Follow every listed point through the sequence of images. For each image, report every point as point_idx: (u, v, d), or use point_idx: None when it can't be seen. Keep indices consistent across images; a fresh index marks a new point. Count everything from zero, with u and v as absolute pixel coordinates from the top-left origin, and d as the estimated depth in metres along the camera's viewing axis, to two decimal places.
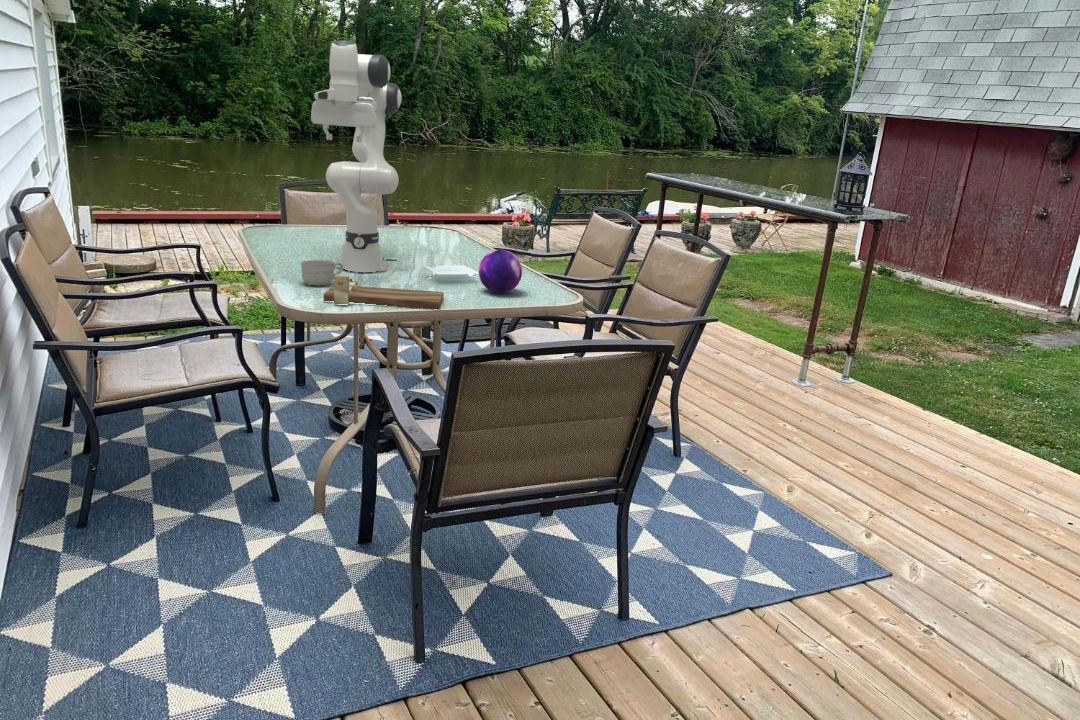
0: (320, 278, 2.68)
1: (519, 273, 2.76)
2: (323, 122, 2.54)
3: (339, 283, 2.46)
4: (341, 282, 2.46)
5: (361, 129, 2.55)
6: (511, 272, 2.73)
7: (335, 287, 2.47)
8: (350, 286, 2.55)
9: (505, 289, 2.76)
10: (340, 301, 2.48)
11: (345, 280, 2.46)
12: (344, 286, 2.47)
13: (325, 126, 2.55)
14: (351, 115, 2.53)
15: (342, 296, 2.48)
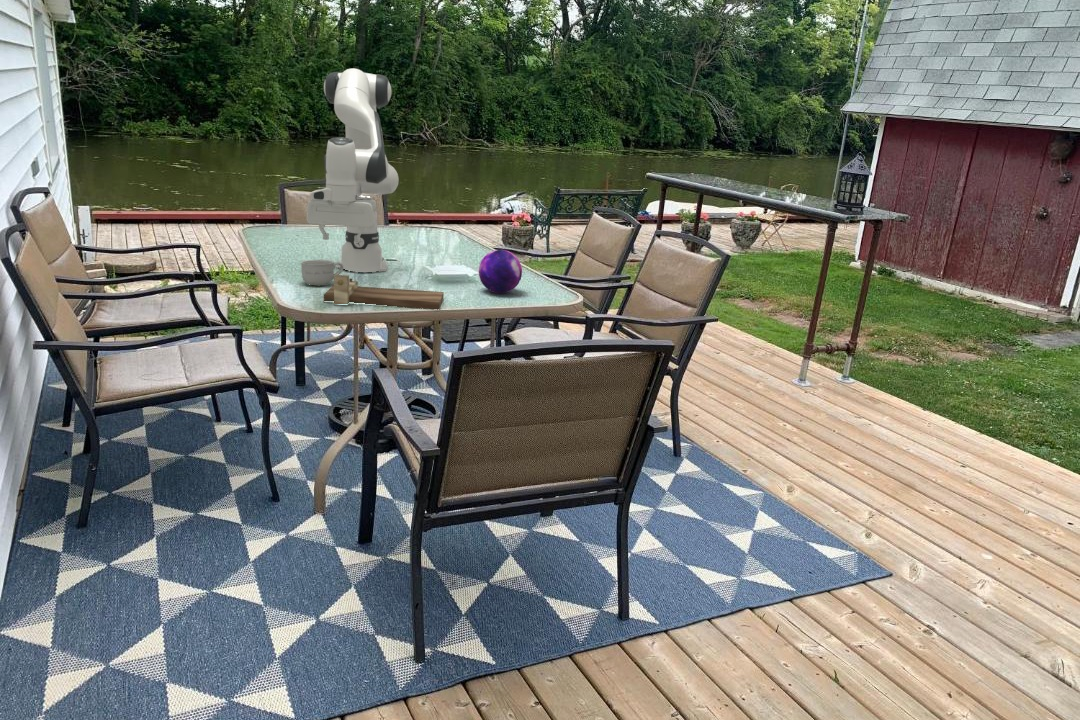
0: (320, 278, 2.68)
1: (519, 273, 2.76)
2: (319, 222, 2.40)
3: (339, 283, 2.46)
4: (341, 282, 2.46)
5: (359, 229, 2.42)
6: (511, 272, 2.73)
7: (335, 287, 2.47)
8: (350, 286, 2.55)
9: (505, 289, 2.76)
10: (340, 301, 2.48)
11: (345, 280, 2.46)
12: (344, 286, 2.47)
13: (321, 226, 2.42)
14: (349, 215, 2.40)
15: (342, 296, 2.48)
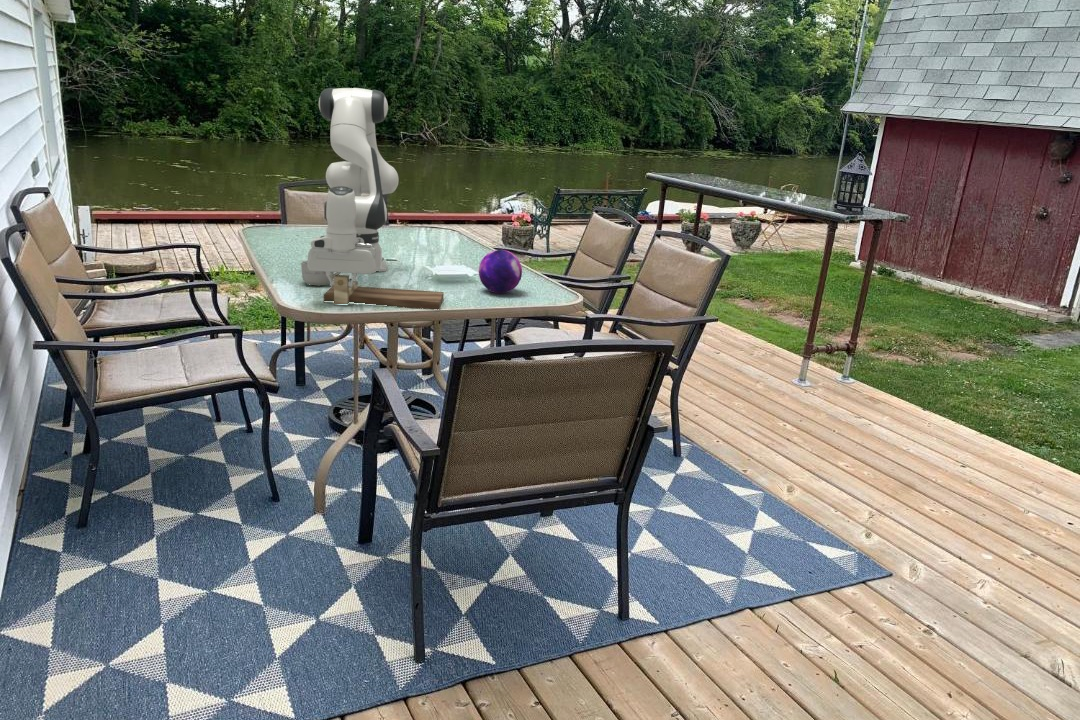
0: (320, 278, 2.68)
1: (519, 273, 2.76)
2: (320, 269, 2.45)
3: (339, 283, 2.46)
4: (341, 282, 2.46)
5: (353, 275, 2.46)
6: (511, 272, 2.73)
7: (335, 287, 2.47)
8: None
9: (505, 289, 2.76)
10: (340, 301, 2.48)
11: (345, 280, 2.46)
12: (344, 286, 2.47)
13: (328, 273, 2.46)
14: (349, 262, 2.44)
15: (342, 296, 2.48)
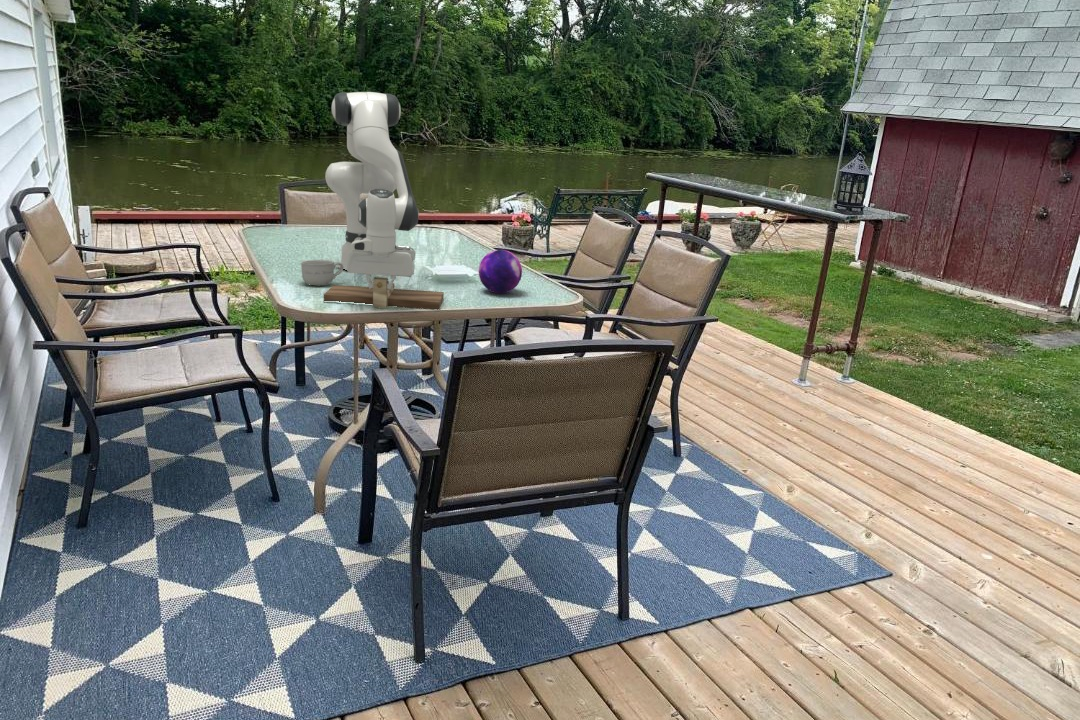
0: (320, 278, 2.68)
1: (519, 273, 2.76)
2: (359, 271, 2.45)
3: (378, 285, 2.46)
4: (380, 284, 2.46)
5: (392, 277, 2.47)
6: (511, 272, 2.73)
7: (374, 289, 2.47)
8: None
9: (505, 289, 2.76)
10: (379, 303, 2.49)
11: (384, 282, 2.47)
12: (383, 288, 2.47)
13: (368, 275, 2.46)
14: (388, 264, 2.45)
15: (381, 298, 2.48)
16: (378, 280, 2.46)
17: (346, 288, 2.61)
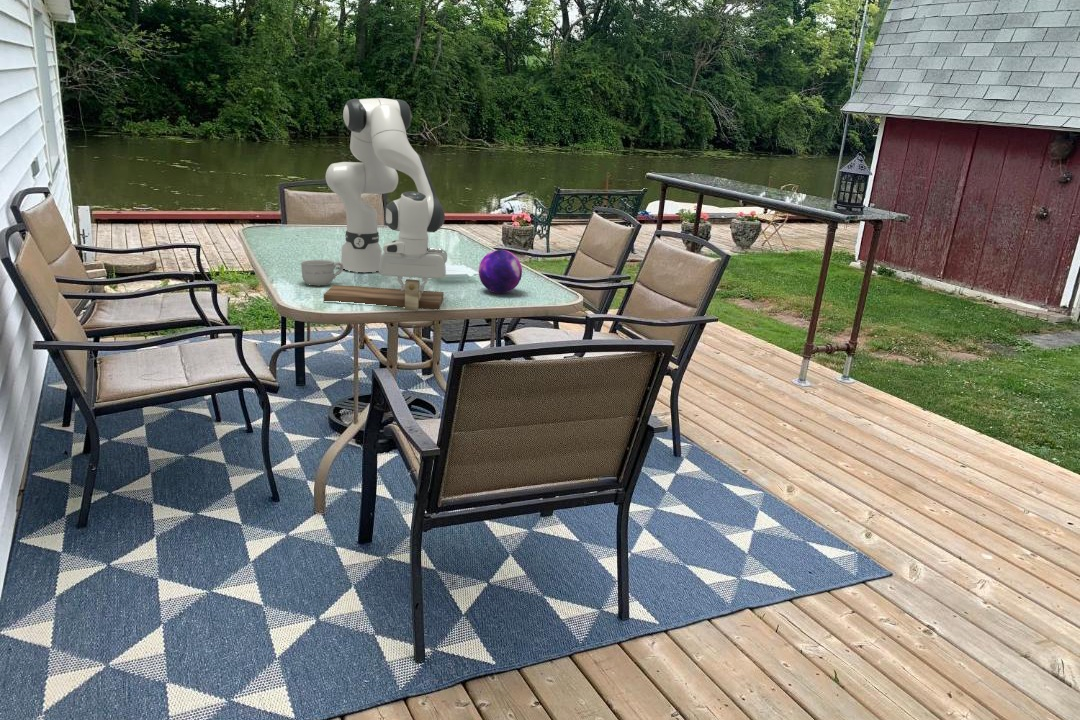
0: (320, 278, 2.68)
1: (519, 273, 2.76)
2: (391, 274, 2.46)
3: (410, 288, 2.47)
4: (412, 287, 2.47)
5: (424, 279, 2.47)
6: (511, 272, 2.73)
7: (406, 292, 2.48)
8: None
9: (505, 289, 2.76)
10: (410, 305, 2.49)
11: (416, 285, 2.47)
12: (414, 290, 2.48)
13: (400, 278, 2.47)
14: (420, 267, 2.45)
15: (413, 300, 2.49)
16: (410, 282, 2.47)
17: (346, 288, 2.61)
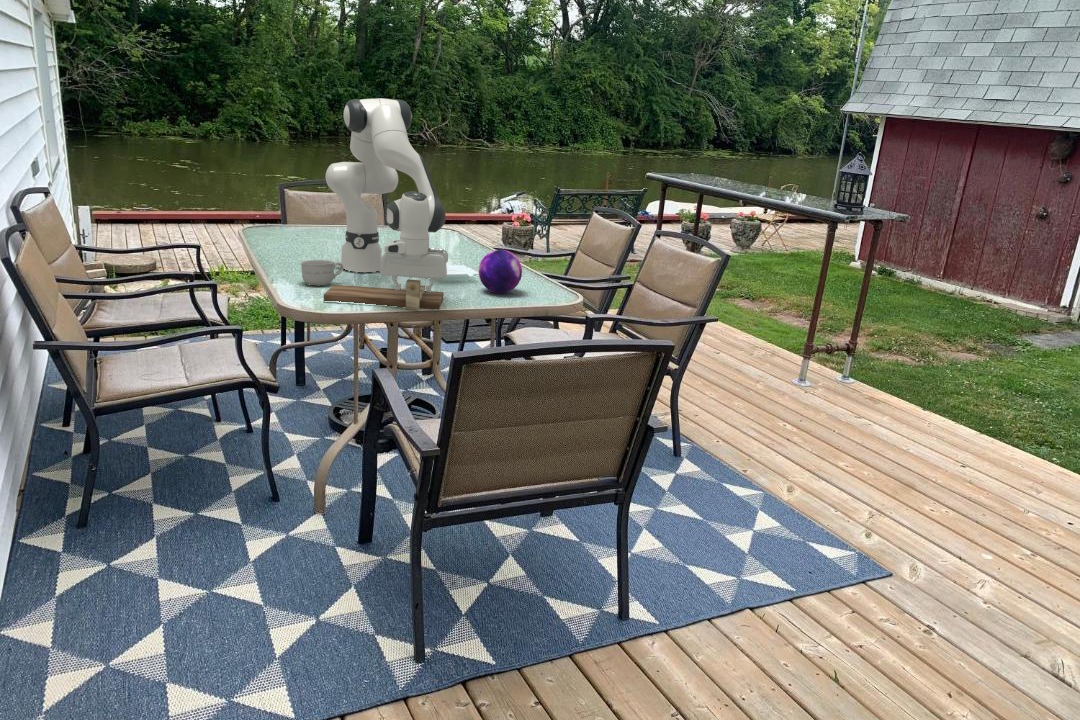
0: (320, 278, 2.68)
1: (519, 273, 2.76)
2: (392, 274, 2.46)
3: (411, 288, 2.47)
4: (413, 287, 2.47)
5: (431, 280, 2.47)
6: (511, 272, 2.73)
7: (407, 292, 2.48)
8: (419, 291, 2.56)
9: (505, 289, 2.76)
10: (411, 305, 2.49)
11: (417, 285, 2.47)
12: (416, 291, 2.48)
13: (394, 277, 2.47)
14: (421, 267, 2.45)
15: (414, 301, 2.49)
16: (411, 282, 2.47)
17: (346, 288, 2.61)
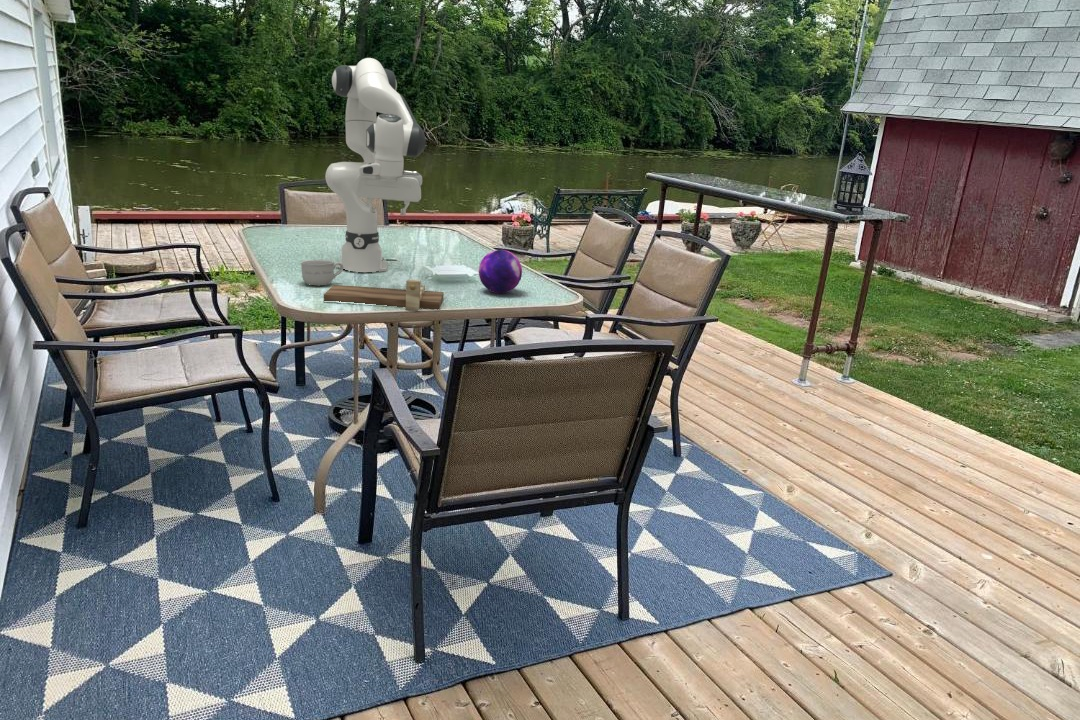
0: (320, 278, 2.68)
1: (519, 273, 2.76)
2: (367, 196, 2.50)
3: (411, 288, 2.47)
4: (413, 287, 2.47)
5: (405, 203, 2.52)
6: (511, 272, 2.73)
7: (407, 292, 2.48)
8: (419, 291, 2.56)
9: (505, 289, 2.76)
10: (411, 305, 2.49)
11: (417, 285, 2.47)
12: (416, 291, 2.48)
13: (369, 199, 2.51)
14: (396, 189, 2.50)
15: (414, 301, 2.49)
16: (411, 282, 2.47)
17: (346, 288, 2.61)
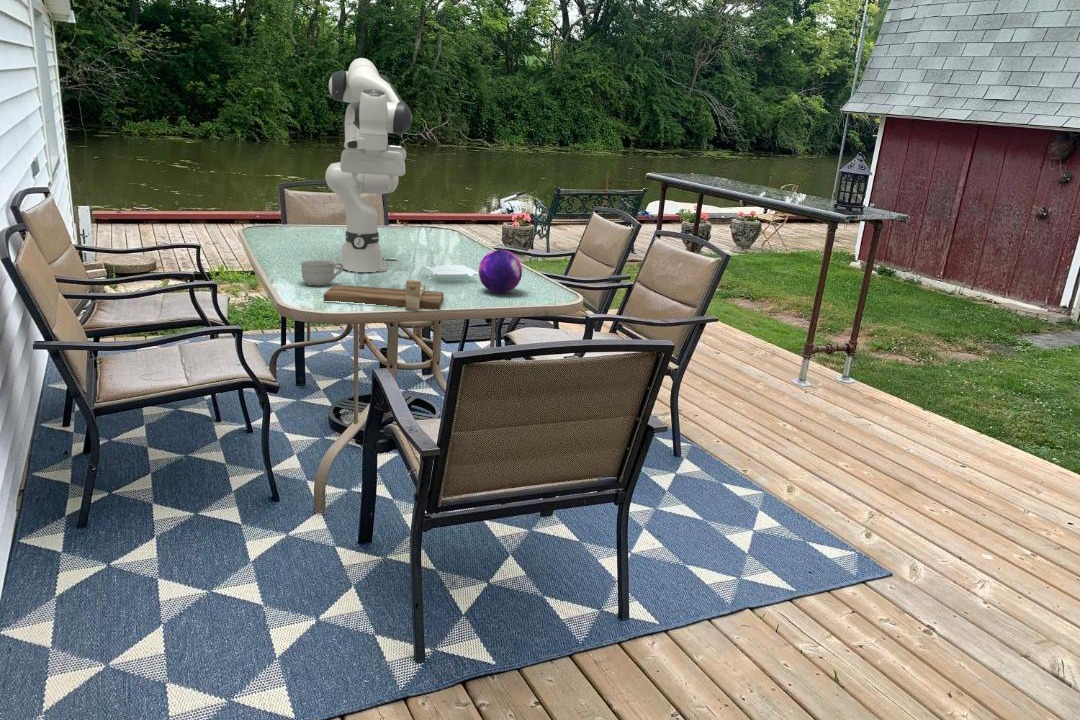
0: (320, 278, 2.68)
1: (519, 273, 2.76)
2: (352, 170, 2.54)
3: (411, 288, 2.47)
4: (413, 287, 2.47)
5: (390, 177, 2.56)
6: (511, 272, 2.73)
7: (407, 292, 2.48)
8: (419, 291, 2.56)
9: (505, 289, 2.76)
10: (411, 305, 2.49)
11: (417, 285, 2.47)
12: (416, 291, 2.48)
13: (354, 174, 2.55)
14: (380, 163, 2.54)
15: (414, 301, 2.49)
16: (411, 282, 2.47)
17: (346, 288, 2.61)
